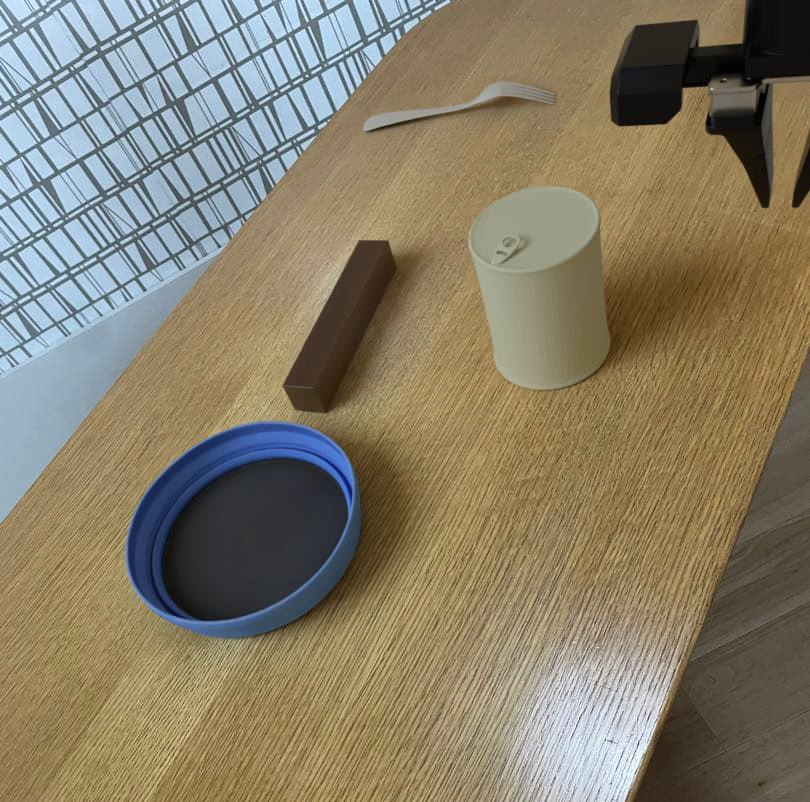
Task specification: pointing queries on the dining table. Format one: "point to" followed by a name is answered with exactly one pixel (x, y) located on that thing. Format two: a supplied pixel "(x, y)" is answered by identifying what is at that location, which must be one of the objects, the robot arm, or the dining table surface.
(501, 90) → the fork
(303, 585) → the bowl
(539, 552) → the dining table surface
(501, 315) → the can
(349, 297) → the rail
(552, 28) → the dining table surface
